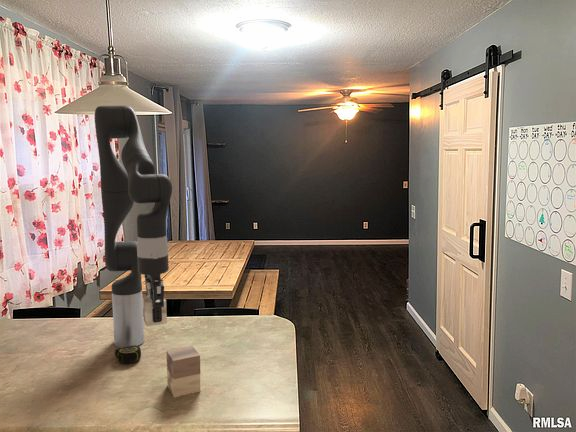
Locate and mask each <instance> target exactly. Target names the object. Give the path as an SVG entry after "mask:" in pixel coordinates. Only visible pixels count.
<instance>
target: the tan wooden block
mask: <svg viewBox="0 0 576 432" xmlns="http://www.w3.org/2000/svg"><path fill="white" fill-rule="evenodd" d="M166 380H167V381H166V382H167V385H168V386H167V387H168V390H169V392H171V394H172V396H174V397H173V398H177V397H176V396H178V397H182V396H181V395H183V396H186V394H187V395H191V394H190V393H192V394H194V393H195V392H196V393H200V392H201V373H200V374H196V375H191V376H187V377H182V378H178V379H173V377H172V375H171V374H170V372H169V370H168V369H167V368H166Z"/></svg>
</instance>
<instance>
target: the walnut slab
mask: <svg viewBox="0 0 576 432" xmlns="http://www.w3.org/2000/svg"><path fill="white" fill-rule="evenodd" d="M165 352H166V370H167V369H168V370H169V372H170V374H171V375H172V377H173V379H178V378H182V377H187V376H191V375H196V374H200V375H201V354H200V353H199V352H198V351H197V350H196V349H195V347H194V346H193V345H187V346H182V347H178V348H173V349H171V348H170V349H166V351H165Z"/></svg>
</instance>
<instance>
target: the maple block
mask: <svg viewBox="0 0 576 432" xmlns="http://www.w3.org/2000/svg"><path fill="white" fill-rule="evenodd" d="M142 299H143V322H144V324H145V325H146V327H153V326H160V325H165V324H167V323H168V317H167V316H168V315H167V314H168V313H167V312H168V311H167V299H165V297H164V307H162V321H161V322H156V323H154V322H153V316H152V307H151V305H152V303H151V299H149V297H147V296H145V297H142ZM156 303H159V300H156Z"/></svg>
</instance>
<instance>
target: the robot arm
mask: <svg viewBox="0 0 576 432" xmlns="http://www.w3.org/2000/svg"><path fill="white" fill-rule="evenodd" d="M94 128H95V134H96V135H95V136H96V142H97V149H98V156H99V157H98V158H99V173H100V195H101V203H102V204H101V205H102V213H103V215H102V216H103V223H104V227H103V228H104V263H105V267H106V269H107V270H108V271H109V272H126V271H127V272H128V271H130V273H129V274H127V275H126V276H124V277H122V278H120V279H117V280H116V281H114V282H112V284H111V301H112V319H113V320H112V321H113V342H114V346H116V347H117V348H123V347H127V346H134V345H135V346H138V347H139V346H140V345H142V344H143V343H145V331H144V330H145V327H144V326H145V325H144V324H145V322H144V316H143V283H142V275H143V276H144V284H145V297H149V299H151V303H152V305H151V307H152V316H153V322H154V323H156V322H161V321H162V307H164V298H165V286H164V280H163V279H162V277H161V275H162V274H167V272H168V271H169V269H170V268H169V264H170V263H169V245H168V244H169V243H168V238H167V216H168V211H169V210H168V209H169V205H170V202H171V198H172V194H173V183H172V180H171V179H170V177H169V176H168V175H166V174H164V173H155V172H156V168H155V167H156V166H155V164H154V162H153V160H152V158H151V156H150V154H149V152H148V150H147V148H146V146H145V141H144V137H143V134H142V131H141V127H140V123H139V120H138V117H137V114H136V112H135V110H134V109H133V108H132V107H131V106H129V105H99V106H97V107H96V108H95V111H94ZM127 138H128V139H127ZM111 139H127V140H126V142H125V143H124V146H123V147H122V150H121V155H120V156H121V157H120V158H121V162H122V164H121V162H120V161H119V160H118V158H117V155H115V153H114V151H113V149H112V145H111ZM134 203H136V204H150V203H151V204H152V203H154V206H153V207H152V209H150V210H148V211H144V212H141V213H139V214H138V215H137V218H136V231H137V233H136V234H137V240H131V241H130V240H129V241H116V237H117V234H118V232H119V230H120V228H121V226H122V224H123V222H124V221H125V220H126V218H127V216H128V215H129V214H130V212H131V210H132V209H133V206H134ZM156 300H159V303H156Z"/></svg>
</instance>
